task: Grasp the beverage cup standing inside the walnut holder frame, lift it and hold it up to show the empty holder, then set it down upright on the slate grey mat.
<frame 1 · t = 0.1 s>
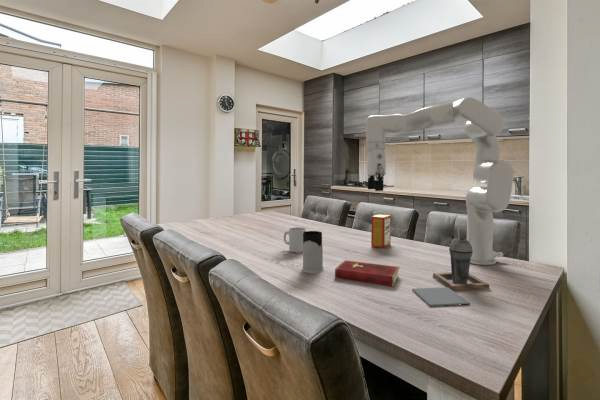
hand: (375, 189, 125), 31 cm above the table, tool pointing down, fingers open, 9 cm apart
slate mat: (439, 297, 95), on the table
mug: (294, 250, 153), on the table
holder frame: (459, 282, 107), on the table
glass holder: (314, 268, 126), on the table
hardcover book: (367, 278, 114), on the table
baking soda box: (381, 246, 160), on the table
beverage cup: (459, 283, 107), resting in holder frame
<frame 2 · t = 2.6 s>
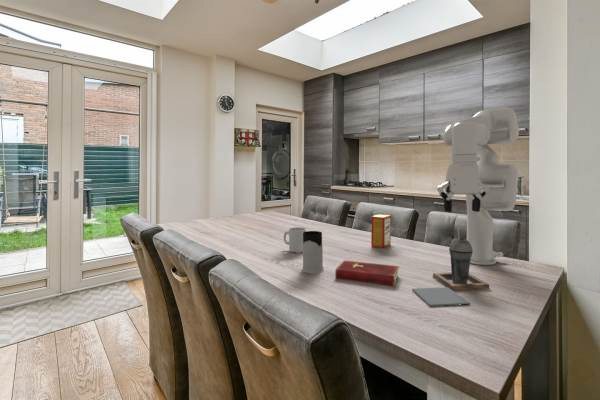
hand: (461, 211, 104), 25 cm above the table, tool pointing down, fingers open, 9 cm apart
nothing on the table moved.
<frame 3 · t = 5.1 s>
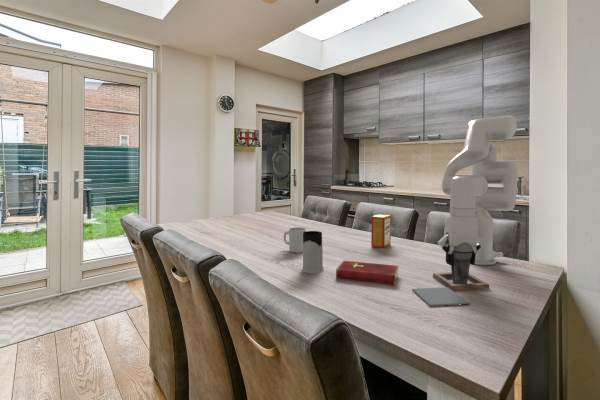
hand: (460, 263, 106), 7 cm above the table, tool pointing down, fingers closed on beverage cup, 6 cm apart
beverage cup: (459, 283, 107), resting in holder frame, touching gripper
everything else where it was.
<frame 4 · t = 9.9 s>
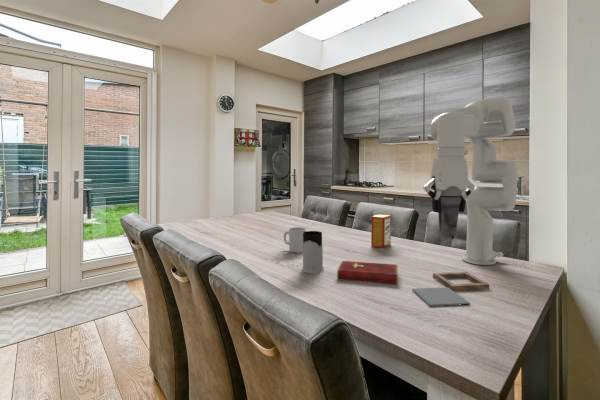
hand: (448, 211, 96), 26 cm above the table, tool pointing down, fingers closed on beverage cup, 6 cm apart
beverage cup: (447, 233, 97), point 19 cm above the table, touching gripper
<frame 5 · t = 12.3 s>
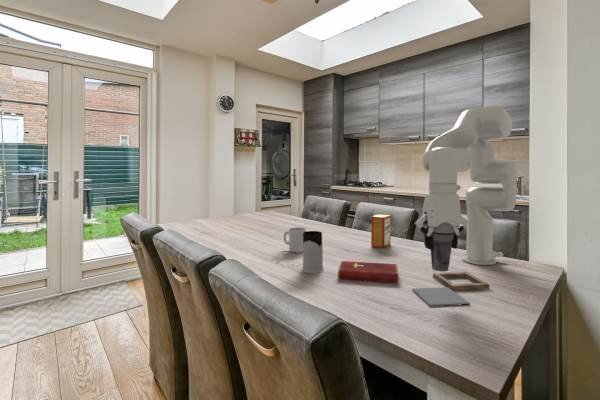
hand: (440, 247, 94), 16 cm above the table, tool pointing down, fingers closed on beverage cup, 6 cm apart
beverage cup: (440, 269, 94), point 9 cm above the table, touching gripper
when the fingers open (8 cm above the table, at t = 14.7 s): beverage cup stays where it is, resting on slate mat.
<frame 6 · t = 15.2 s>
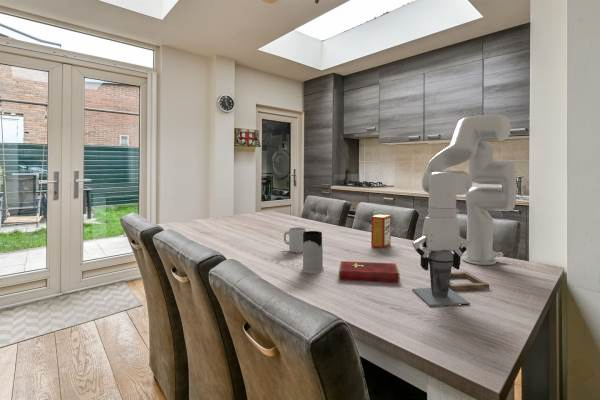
hand: (440, 268, 94), 9 cm above the table, tool pointing down, fingers open, 9 cm apart
beverage cup: (439, 295, 95), resting on slate mat
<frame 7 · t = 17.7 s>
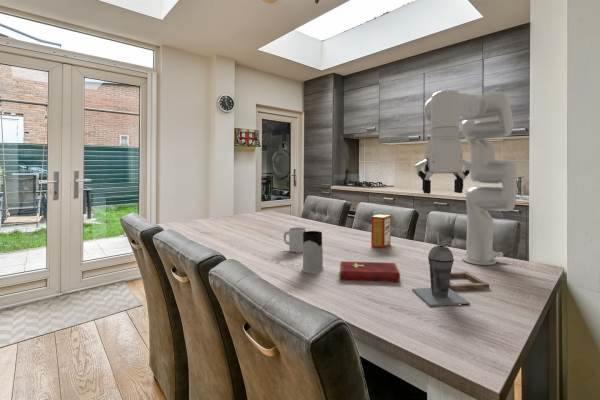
hand: (442, 193, 92), 32 cm above the table, tool pointing down, fingers open, 9 cm apart
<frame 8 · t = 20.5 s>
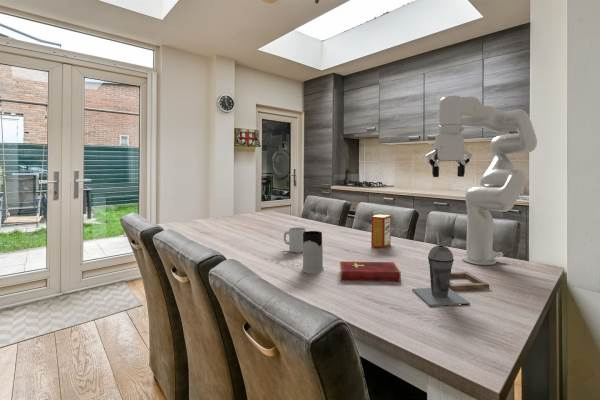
hand: (448, 176, 116), 36 cm above the table, tool pointing down, fingers open, 9 cm apart
at the end: beverage cup inside the target area on the slate mat (0.1 cm from its centre), point 0.4 cm above the slate mat's base; beverage cup tilted 0°; the gripper is holding nothing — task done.
